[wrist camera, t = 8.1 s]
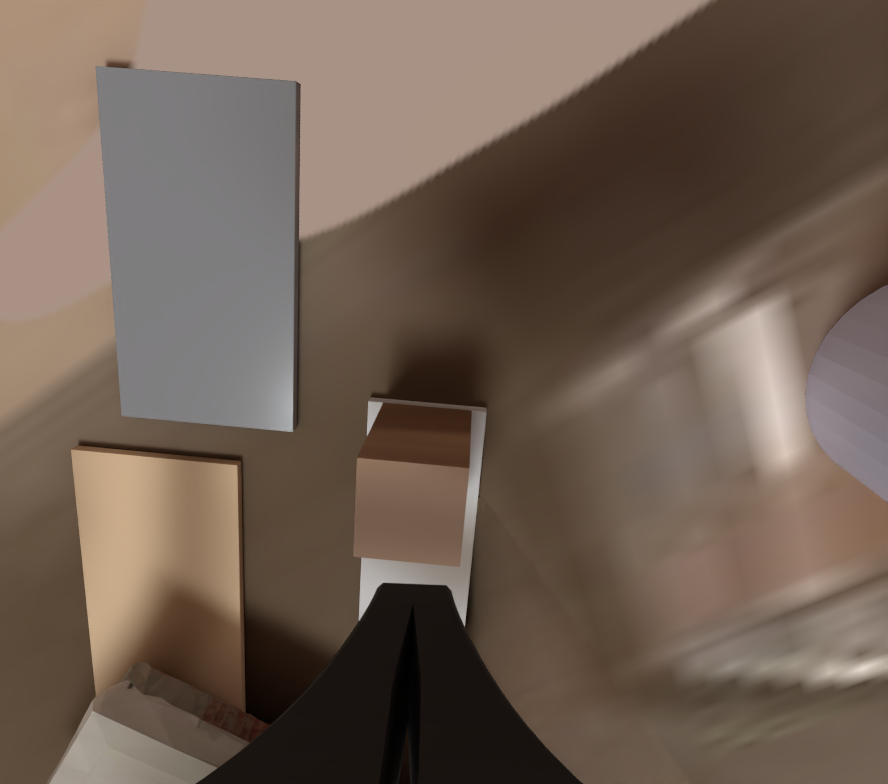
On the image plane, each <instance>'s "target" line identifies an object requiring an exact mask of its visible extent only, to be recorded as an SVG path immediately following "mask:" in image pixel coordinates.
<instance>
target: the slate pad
mask: <svg viewBox="0 0 888 784" xmlns="http://www.w3.org/2000/svg"><path fill="white" fill-rule="evenodd" d="M96 79H97V92H98V105H99V119H100V132H101V146H102V159H103V172H104V185H105V199H106V212H107V225H108V239H109V251H110V252H109V253H110V265H111V279H112V293H113V306H114V320H115V333H116V346H117V360H118V373H119V387H120V400H121V413H122V416H128V417H138V418H149V419H160V420H170V421H181V422H192V423H203V424H213V425H224V426H235V427H245V428H256V429H267V430H278V431H288V432H293V431H294V430H295V429H296V427H297V365H298V269H299V173H300V172H299V171H300V170H299V169H300V168H299V167H300V84H299V83H298V82H296V81H285V80H272V79H259V78H246V77H233V76H220V75H206V74H193V73H180V72H166V71H153V70H141V69H128V68H114V67H101V66H96Z"/></svg>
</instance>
